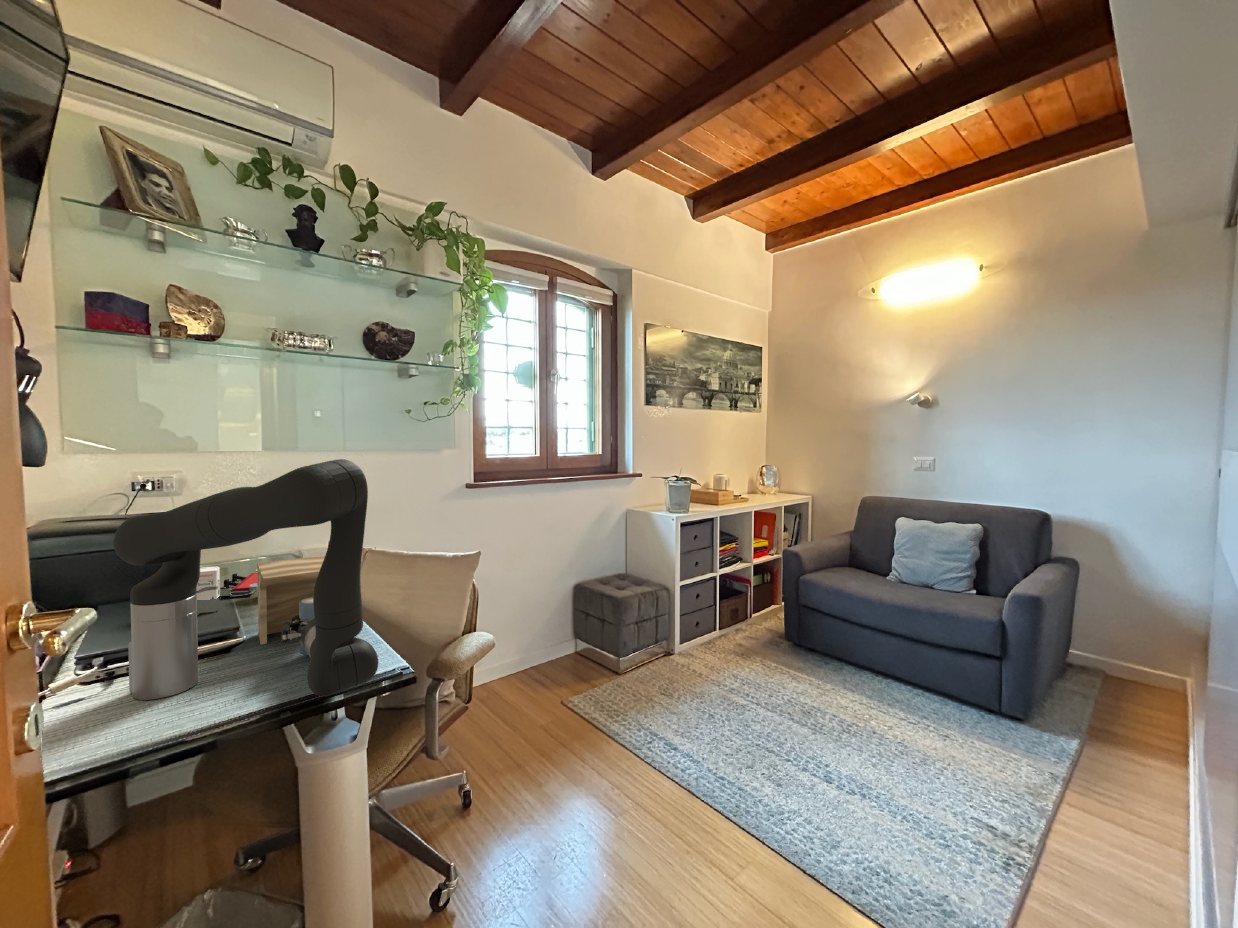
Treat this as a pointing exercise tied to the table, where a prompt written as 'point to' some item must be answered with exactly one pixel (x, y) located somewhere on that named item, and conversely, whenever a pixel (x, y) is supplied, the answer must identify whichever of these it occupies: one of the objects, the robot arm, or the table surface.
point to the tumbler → (305, 616)
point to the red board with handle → (243, 584)
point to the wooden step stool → (283, 591)
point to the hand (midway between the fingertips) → (313, 617)
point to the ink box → (208, 583)
